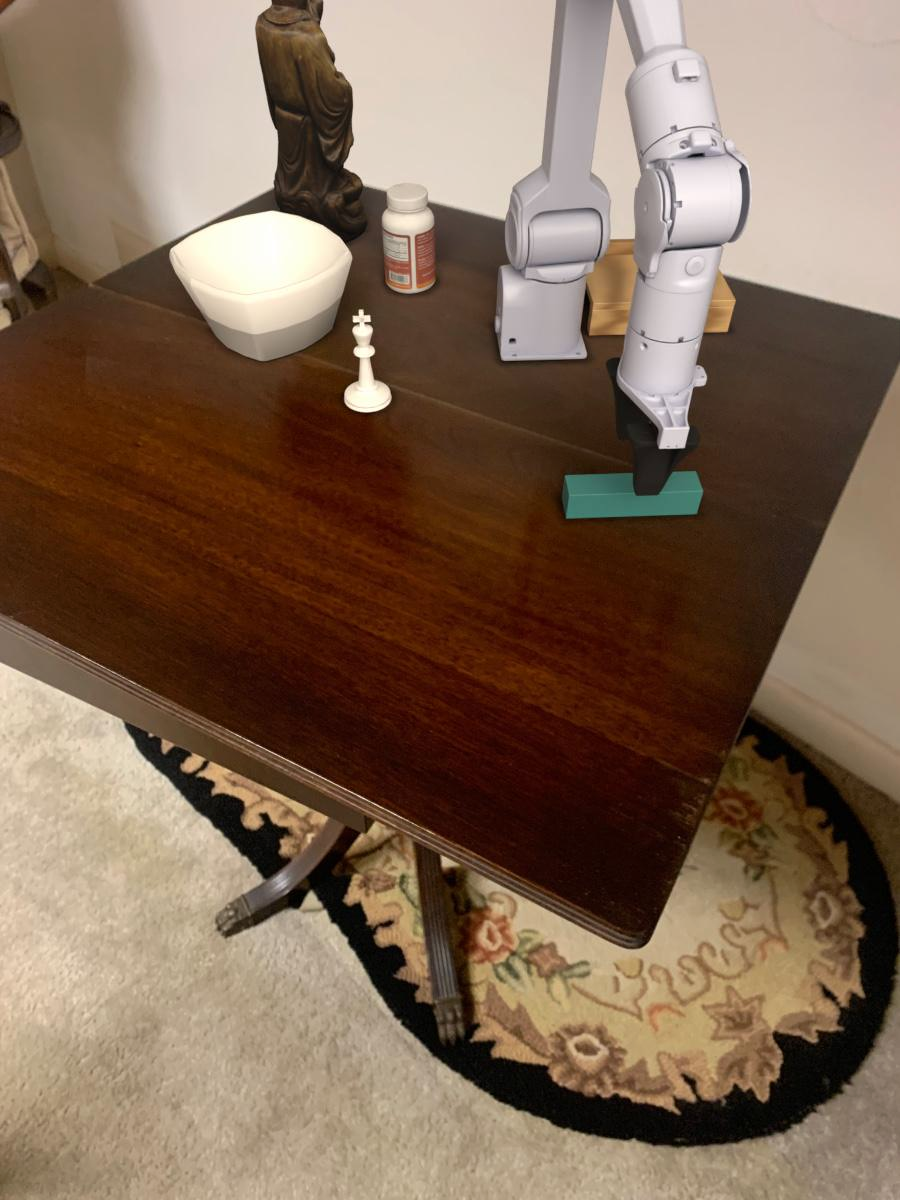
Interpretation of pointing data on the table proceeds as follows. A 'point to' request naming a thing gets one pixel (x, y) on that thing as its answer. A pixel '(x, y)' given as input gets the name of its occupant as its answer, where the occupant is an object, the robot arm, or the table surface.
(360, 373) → the chess piece
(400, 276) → the pill bottle
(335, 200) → the sculpture
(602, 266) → the wooden stepped tray
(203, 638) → the table surface
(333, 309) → the bowl
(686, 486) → the stick
